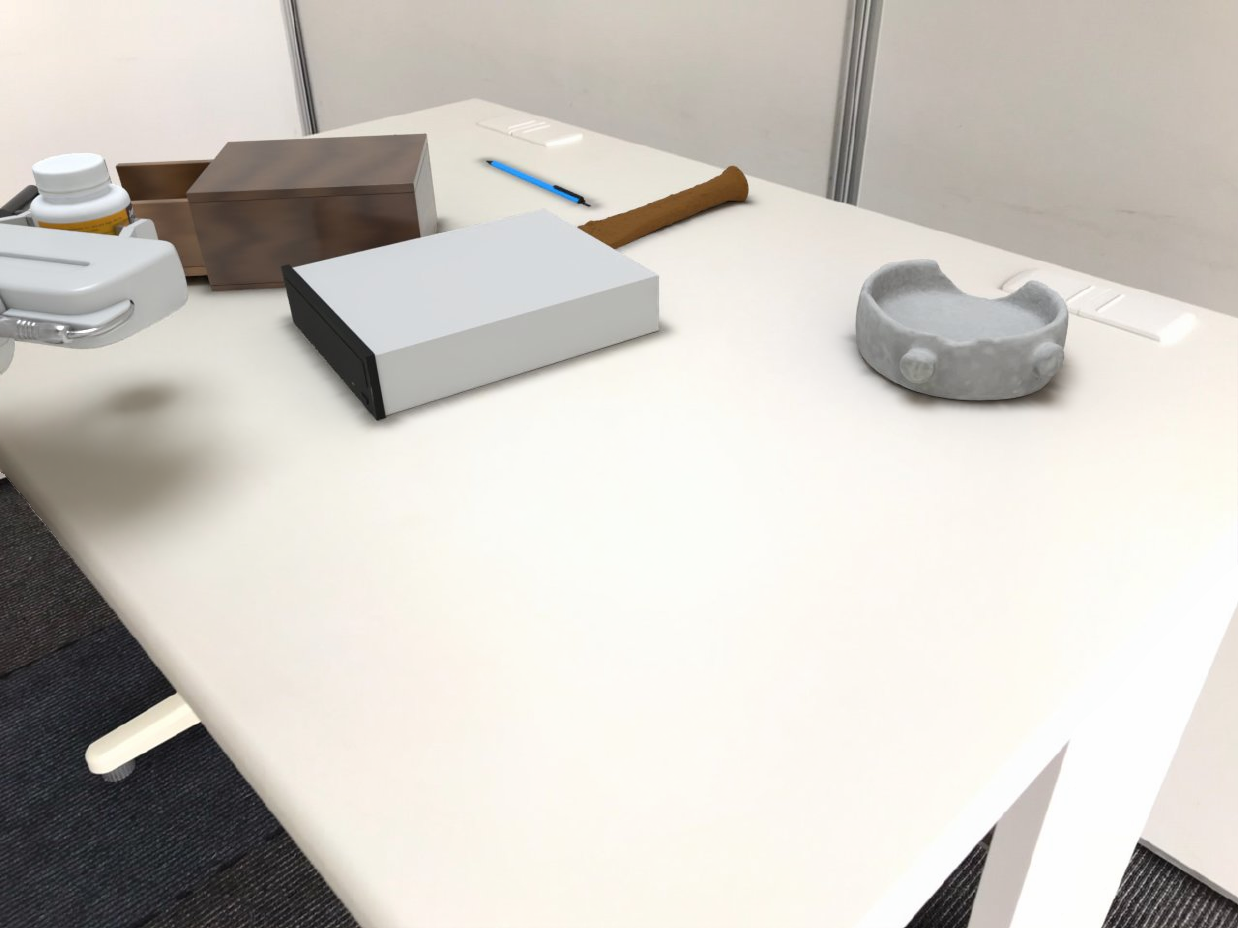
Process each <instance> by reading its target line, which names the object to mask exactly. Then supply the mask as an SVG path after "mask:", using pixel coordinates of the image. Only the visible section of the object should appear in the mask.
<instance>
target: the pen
mask: <svg viewBox="0 0 1238 928" xmlns="http://www.w3.org/2000/svg"><path fill="white" fill-rule="evenodd" d="M485 162H486V163H487V164H489V165H490V166H492V167H494V168H496V169H499V170H500V171H502V172H505V173H507V174H510V175H512V176H514V177H517V178H518V179H521V180H523V181H525V182H528V183H530V184H532V185H535V186H536V187H539V188H541V189H544V190H546V191H548V192H551V193H553V194H555V195H557V196H559V197H561V198H564V199H566V200H569V201H571V202H573V203H575V204H577V205H583V206H586V207H587V208H589V207H592V205H591V204H589V203H587V202H586V200H585V198H584V196H582V195H580V194H578V193H576V192H574V191H571V190H568V189H566V188H564V187H562V186H559V185H558V184H554V185H552V184H551V183H550V184H549V183H548V182H545V181H543V180H540V179H538V178H536V177H533V176H532V175H529V174H527V173H525V172H522V171H520V170H518V169H515V168H513V167H510V166H508V165H506V164H504V163H502V162H499V161H497V160H485Z"/></svg>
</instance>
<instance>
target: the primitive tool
mask: <svg viewBox="0 0 1238 928" xmlns="http://www.w3.org/2000/svg"><path fill="white" fill-rule="evenodd" d="M749 192H750V189H749V183H748V179H747V177H746V175H745V174H744V172H743V171H742V170H741V169H740V168H739V167H738V166H736V165H729V166H728V167H727V168H726V169H724V170H723V171H722V172H721V174H719V175H716V176H714V177H712V178H710V179H709V180H707V181H704V182H702V183H699V184H695V185H694V186H692V187H690V188H686V189H683V190H681V191H679V192H676V193H671V194H669V195H668V196H666V197H663V198H659V199H657V200H655V201H652V202H649V203H646V204H645V205H642V206H639V207H636V208H633V209H629V210H627V211H624V212H621V213H618V214H614V215H612V216H608V217H606V218H603V219H596V220H589V221H587V222H585V223H584V224H583V225H578V226H576V227H577V228H579V229H580V230H582V231H584V232H585V233H587V234H589V235H591V236H592V237H594V238H596V239H598V240H599V241H601V242H603V243H604V244H606V245H608V246H610V247H611V248H613V249H615V250H616V249H619V248H621V247H624V246H625V245H627V244H630V243H632V242H634V241H636V240H638V239H640V238H642V237H645V236H647V235H649V234H651V233H653V232H655V231H657V230H660V229H661V228H664V227H667V226H670V225H673V224H674V223H677V222H679V221H682V220H685V219H688V218H690V217H692V216H694V215H696V214H698V213H700V212H704V211H706V210H707V209H711V208H713V207H716V206H720V205H722V204H724V203H727V202H740V203H741V202H744V201H746V200H747V199H748V197H749Z"/></svg>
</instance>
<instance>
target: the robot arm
mask: <svg viewBox="0 0 1238 928" xmlns="http://www.w3.org/2000/svg"><path fill="white" fill-rule="evenodd" d="M113 227H114V231H115V234H116V236H114V235H105V234H95V233H86V232H76V231H67V230H58V229H48V228H39V227H35V225H34V222H33V219H32V216H31V212H30V209H29V210H28V211H26V212H24V213H21V214H19V215H17V216H16V215H15V216H9V217H3V218H0V377H1V376H2V375H3V374H4V373H5V372H6V371H7V370H8V369H9V368H10V366H11V364H12V363H13V362H12V361H13V359H14V355H15V351H16V350H15V349H16V342H22V343H28V344H36V345H43V346H52V347H58V348H64V349H73V350H93V349H94V350H95V349H98V348H104V347H108V346H111V345H114V344H116V343H117V344H118V343H119V342H121V341H124V340H126V339H128V338H130V337H133V336H134V335H136V334H138V333H141V332H142V331H144V330H146V329H148V328H149V327H151V326H153V325H155V324H157V323H159V322H160V321H162V320H164V319H166V318H167V317H169V316H171V315H173V314H174V313H177V312H178V311H179V310H180V309H182V308H183V307H184V306H185V305H187V302H188V299H189V287H188V282H187V279H186V276H185V273H184V270H183V267H182V264H181V261H180V258H179V255H178V253H177V250H176V248H175V247H174V245H173V244H171V243H170V242H167V241H162V240H158V237H157V233H156V230H155V226H154V223H153V221H151V220H150V219H140V218H127V219H125V221H121V222H119V223H117V224H115V225H113Z"/></svg>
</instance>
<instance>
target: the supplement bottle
mask: <svg viewBox="0 0 1238 928" xmlns="http://www.w3.org/2000/svg"><path fill="white" fill-rule="evenodd" d="M104 159H105V158H104V157H103V156H102V155H100V154H97V153H92V152H72V153H64V154H63V153H62V154H58V155H53V156H50V157H46V158H43V159H41V160H39V161H37V162H34V164H33V165H32V167H31V173H32V175H33V178H34V181H35V186H36V187H37V188H38V192H39V194H40V195H38V196H37V197H36V198H35V199H34V200H33V201H32V203H31V205H30V209H29V210H30V212H31V216H32V219H33V222H34V225H35V227H39V228H48V229H58V230H67V231H76V232H86V233H95V234H105V235H114V236H116V234H115V231H114V227H113V225H115V224H117V223H119V222H121V221H125V219H127V218H135V214H134V211H133V207H132V203H131V200H130V198H129V195H128V193H127V192H126V190H125V189H123V188H122V186H121V185H118V184H116V183H113V182H112V183H111V181H112V179H111V180H110V178H111V176H110V175H111V174H110V172H109V170H108V171H107V168H108V167H107V168H106V165H107V164H106V165H105V162H106V160H105V161H104ZM109 177H110V178H109Z"/></svg>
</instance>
